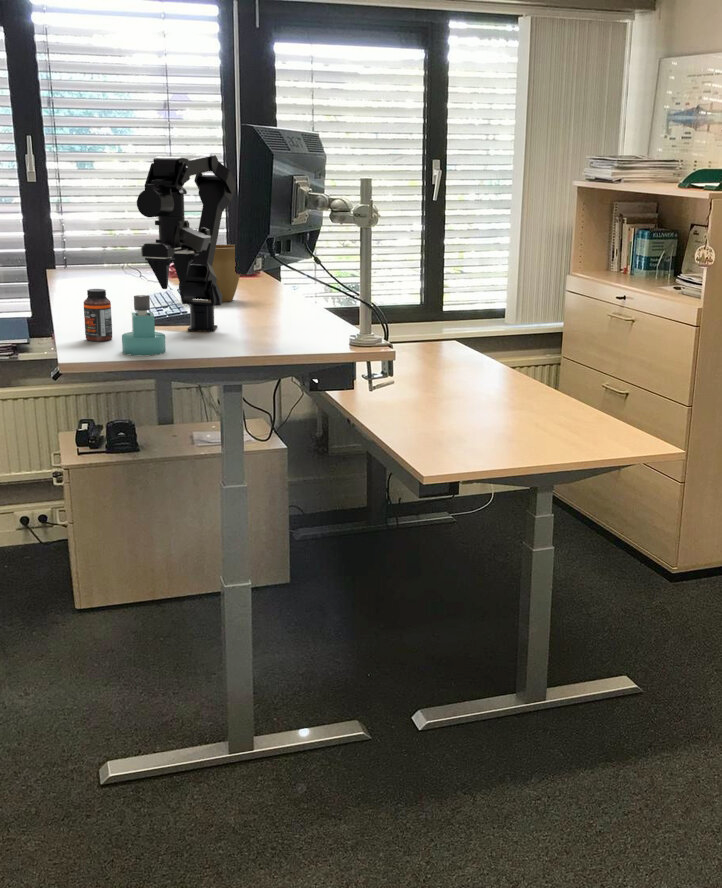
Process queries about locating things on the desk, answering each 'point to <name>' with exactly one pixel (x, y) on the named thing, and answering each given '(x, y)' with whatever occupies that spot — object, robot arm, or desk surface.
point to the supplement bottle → (97, 316)
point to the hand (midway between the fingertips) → (173, 286)
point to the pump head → (142, 304)
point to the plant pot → (225, 271)
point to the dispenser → (143, 337)
